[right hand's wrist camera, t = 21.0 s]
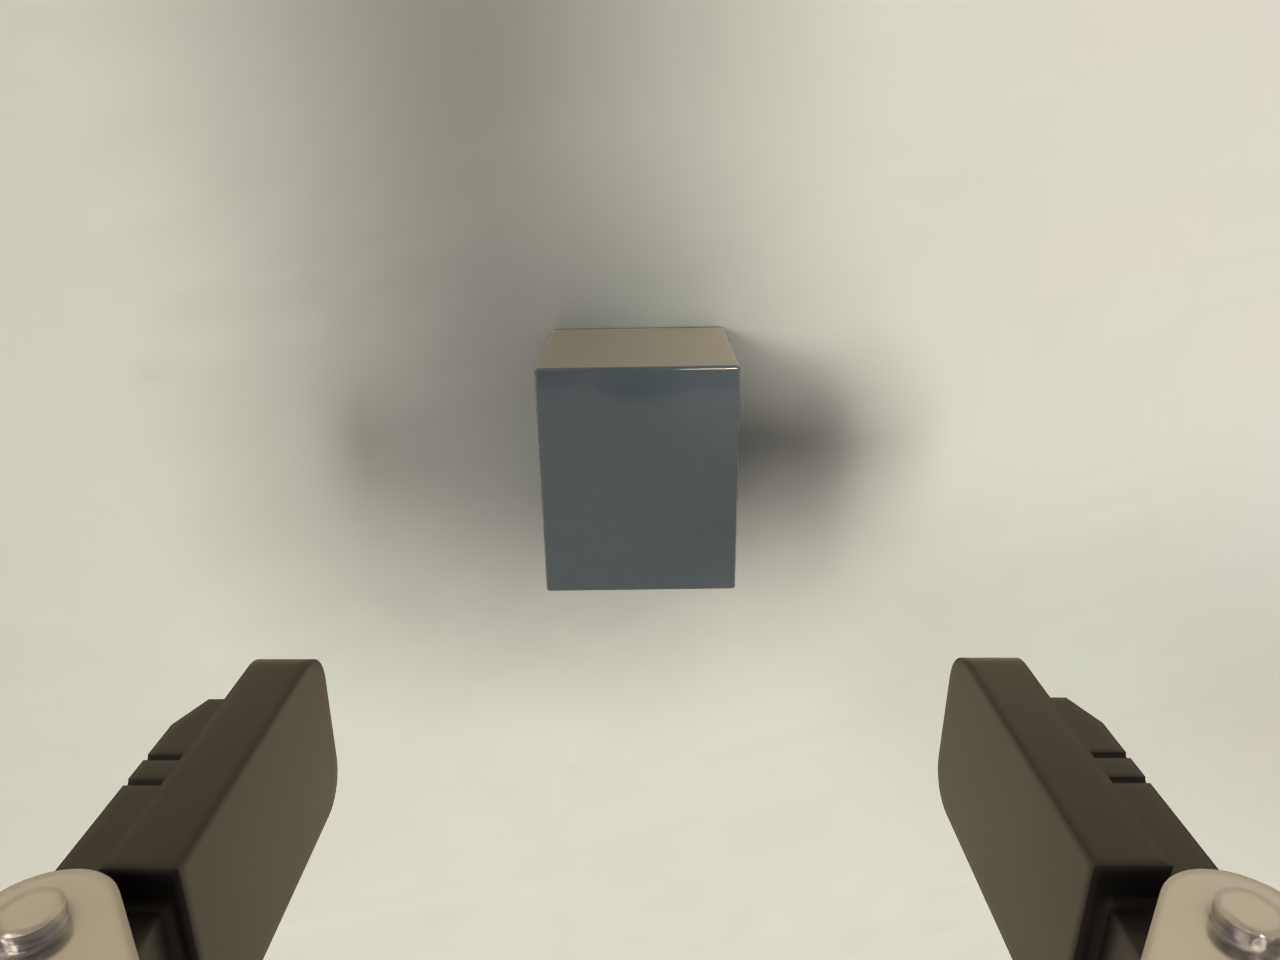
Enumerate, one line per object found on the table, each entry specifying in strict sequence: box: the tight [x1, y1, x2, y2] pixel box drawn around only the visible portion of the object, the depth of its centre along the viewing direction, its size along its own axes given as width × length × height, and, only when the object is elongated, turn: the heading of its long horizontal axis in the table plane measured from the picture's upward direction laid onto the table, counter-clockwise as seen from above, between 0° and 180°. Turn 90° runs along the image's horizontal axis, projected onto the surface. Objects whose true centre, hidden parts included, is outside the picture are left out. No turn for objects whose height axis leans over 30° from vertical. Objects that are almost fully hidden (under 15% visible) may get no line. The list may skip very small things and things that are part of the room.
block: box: [535, 327, 740, 591], centre depth 21 cm, size 4×5×4 cm
